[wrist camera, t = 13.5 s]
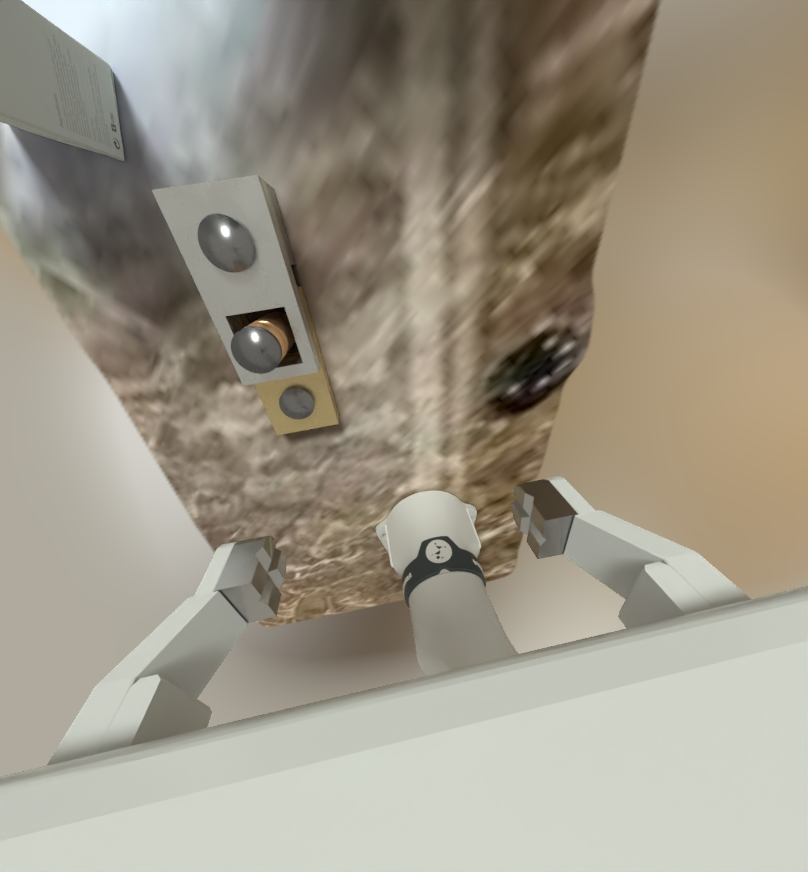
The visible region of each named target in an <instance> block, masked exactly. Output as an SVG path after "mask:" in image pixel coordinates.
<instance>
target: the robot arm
mask: <svg viewBox="0 0 808 872" xmlns="http://www.w3.org/2000/svg"><path fill="white" fill-rule="evenodd" d="M514 495H515V497H516V498H517V499H516V500H515V501H514V502H513V504H512V512H513V517H514V520H515V522H516V524H517V526H518V528H519V530H520V531H522V532H524V533H525V534H527V535H528V537H527V543H528V544H529V546H530V548H531V549H532V551H533V552H534V554H535V555H536V557H537V559H540V558H545V557H551V556H556V555H561V554H564V556H565V557H566V558H568V559H569V560H570V561H572V562H573V563H575V564H576V565H578V566H579V567H580V568H582V569H583V570H585V571H586V572H588V573H589V574H590V575H592V576H593V577H595V578H596V579H598V580H599V581H600V582H602V583H603V584H605V585H606V586H608V587H609V588H610V589H612V590H613V591H615V592H616V593H618V594H619V595H620V596H622V597H623V598H625V599H626V600H625V602H624V604H623V606H622V608H621V609H620V611H619V616H618V617H619V618H620V620H621V621H622V623H623V624H624V625H625V627H626V628H627V629H623V630H619V631H615V632H611V633H606V634H602V635H598V636H594V637H589V638H585V639H581V640H577V641H573V642H568V643H564V644H560V645H556V646H551V647H547V648H543V649H539V650H534V651H530V652H526V653H522V654H518V652H517V651H516V650H515V648H514V647H513V646H512V644H511V642H510V641H509V639H508V637H507V635H506V633H505V632H504V629H503V627H502V625H501V623H500V621H499V619H498V617H497V614H496V612H495V610H494V608H493V605H492V603H491V601H490V598H489V596H488V594H487V591H486V589H485V587H486V581H485V578H484V575H483V574H484V573H483V570H482V568H481V566H480V564H479V562H478V560H477V556H478V554H479V552H480V548H481V544H480V541H479V538H478V535H477V533H476V530H475V527H474V522H475V519H476V515H477V511H476V508H475V507H474V506H472V505H470V504H466V503H463V502H461V501H460V500H459V499H458V498H457V497H455V496H454V495H452V494H450V493H447V492H443V491H424V492H419V493H416V494H413V495H411V496H409V497H407V498H405V499H403V500H402V501H400V502H399V503H398V504H397V505H396V506H395V507H394V508H393V509H392V511H391V512H390V514H389V515H388V517H387V518H386V519H385V520H384V521H382V522H381V523H380V524H378V525H377V526H376V534H377V536H378V537H379V539H380V541H381V542H382V544H383V545H384V547H385V549H386V550H387V552H388V553H389V557H390V564H391V567H393V568H394V569H395V571H396V572H397V574H398V575H399V576H400V577H401V578H402V583H403V593H404V597H405V600H406V604H407V606H408V607H409V608H410V614H411V620H412V627H413V633H414V639H415V646H416V653H417V659H418V662H419V664H420V667H421V669H422V670H423V672H424V673H425V674H426V675H427V676H424V677H420V678H416V679H412V680H407V681H403V682H399V683H394V684H390V685H386V686H382V687H378V688H373V689H369V690H365V691H361V692H356V693H352V694H348V695H344V696H340V697H335V698H331V699H327V700H323V701H318V702H314V703H310V704H306V705H301V706H297V707H293V708H289V709H284V710H280V711H276V712H272V713H268V714H263V715H259V716H255V717H251V718H246V719H242V720H238V721H234V722H229V723H225V724H221V725H217V726H213V727H208V728H207V726H208V723H209V720H210V716H211V713H212V711H211V709H210V707H208V706H207V705H205V704H204V703H202V702H201V701H199V700H198V699H197V698H198V696H199V695H200V694H201V692H202V691H203V689H204V688H205V686H206V685H207V684H208V682H209V681H210V679H211V678H212V676H213V675H214V673H215V672H216V670H217V669H218V668H219V666H220V665H221V663H222V662H223V661H224V659H225V658H226V656H227V655H228V653H229V652H230V650H231V649H232V648H233V646H234V645H235V643H236V642H237V640H238V639H239V638H240V636H241V635H242V633H243V632H244V630H245V629H246V627H247V626H248V623H251V622H255V621H259V620H263V619H267V618H271V617H275V616H276V615H277V611H278V606H279V602H280V597H281V593H280V591H279V590H278V588H279V586H280V585H281V584H282V583H283V581H284V579H285V574H286V561H285V557H284V555H283V553H282V551H280V550H278V549H276V548H275V546H276V541H275V540H274V538H273V537H272V536H265V537H260V538H254V539H249V540H243V541H238V542H233V543H228V544H222V545H221V546H220V547H219V548H217V550H216V552H215V554H214V556H213V558H212V560H211V562H210V564H209V567H208V569H207V571H206V573H205V575H204V577H203V579H202V581H201V583H200V585H199V587H198V589H197V591H196V593H195V595H194V596H192V597H189V598H188V599H187V600H186V601H184V602H183V603H182V604H181V605H180V606H179V607H178V608H177V609H176V610H175V611H174V612H173V613H172V614H171V615H170V616H169V617H168V618H167V619H165V620H164V621H163V622H162V623H161V624H160V625H159V626H158V627H157V628H156V629H155V630H154V631H153V632H152V633H151V634H150V635H149V636H148V637H147V638H146V639H145V640H143V641H142V642H141V643H140V644H139V645H138V646H137V647H136V648H135V649H134V650H133V651H132V652H131V653H130V654H129V655H128V656H127V657H126V658H125V659H123V660H122V661H121V662H120V663H119V664H118V666H116V667H115V668H114V669H113V670H112V671H111V672H110V673H109V674H108V675H107V676H106V677H105V678H103V679H102V680H101V681H100V682H99V683H98V685H96V686H95V688H94V689H93V691H92V693H91V694H90V696H89V697H88V699H87V701H86V702H85V704H84V706H83V707H82V709H81V710H80V712H79V714H78V715H77V717H76V718H75V720H74V722H73V724H72V725H71V727H70V728H69V730H68V732H67V733H66V735H65V736H64V738H63V740H62V741H61V743H60V745H59V746H58V748H57V749H56V751H55V753H54V754H53V756H52V758H51V759H50V761H49V763H48V765H47V766H43V767H40V768H35V769H31V770H27V771H22V772H18V773H14V774H10V775H5V776H1V777H0V872H808V586H806V587H801V588H797V589H793V590H789V591H784V592H780V593H776V594H772V595H767V596H764V597H759V598H755V599H751V598H749V597H748V596H747V595H746V594H745V593H744V592H742V591H741V590H740V589H739V588H738V587H737V586H735V585H734V584H733V583H732V582H731V581H730V580H728V579H727V578H726V577H725V576H724V575H722V574H721V573H720V572H719V571H718V570H717V569H716V568H714V567H713V566H712V565H711V564H710V563H709V562H707V561H706V560H705V559H704V558H703V557H702V556H700V555H699V554H698V553H697V552H695V551H693V550H690V549H688V548H686V547H683V546H681V545H679V544H677V543H674V542H672V541H670V540H667V539H665V538H663V537H661V536H658V535H656V534H653V533H651V532H649V531H647V530H644V529H642V528H640V527H638V526H635V525H633V524H631V523H629V522H626V521H624V520H622V519H619V518H617V517H615V516H612V515H610V514H608V513H605V512H603V511H601V510H599V511H595V510H594V509H593V508H592V507H591V506H590V505H589V504H588V503H587V501H586V500H585V499H584V498H583V497H582V496H581V495H580V494H579V493H577V491H576V490H575V489H574V488H573V487H572V486H571V485H570V484H569V483H568V482H567V481H566V480H565V479H564V478H563V477H561V476H558V477H553V478H548V479H544V480H538V481H533V482H529V483H524V484H519V485H516V486H515V488H514Z"/></svg>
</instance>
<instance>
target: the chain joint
mask: <svg viewBox="0 0 808 872" xmlns="http://www.w3.org/2000/svg"><path fill="white" fill-rule="evenodd" d="M152 192H153V194H154V196H155V199H156V201H157V203H158V205H159V207H160V209H161V211H162V213H163V216H164V218H165V220H166V222H167V224H168V226H169V228H170V231H171V233H172V235H173V237H174V239H175V241H176V243H177V245H178V248H179V250H180V252H181V254H182V256H183V258H184V260H185V263H186V265H187V267H188V269H189V271H190V273H191V275H192V277H193V280H194V282H195V284H196V286H197V288H198V290H199V292H200V295H201V297H202V299H203V301H204V303H205V305H206V307H207V309H208V312H209V314H210V316H211V318H212V320H213V322H214V324H215V327H216V329H217V331H218V333H219V335H220V337H221V339H222V341H223V344H224V346H225V348H226V350H227V352H228V354H229V356H230V359H231V361H232V363H233V365H234V367H235V369H236V371H237V373H238V376H239V378H240V380H241V382H242V384H243V386H244V385H250V384H255V387H256V389H257V391H258V393H259V396H260V398H261V400H262V402H263V405H264V407H265V409H266V411H267V414H268V416H269V418H270V420H271V423H272V425H273V427H274V429H275V432H276V434H277V435H282V434H287V433H293V432H298V431H303V430H309V429H314V428H319V427H325V426H330V425H336V424H339V412H338V409H337V405H336V402H335V398H334V395H333V391H332V388H331V385H330V381H329V378H328V374H327V371H326V367H325V364H324V360H323V357H322V354H321V350H320V347H319V343H318V340H317V336H316V333H315V329H314V326H313V323H312V319H311V316H310V312H309V309H308V305H307V302H306V298H305V295H304V291H303V288H302V286H297V284H296V281H295V278H294V274H293V271H292V268H291V265H294V264H295V260H294V257H293V254H292V250H291V247H290V243H289V240H288V236H287V233H286V229H285V226H284V223H283V219H282V216H281V212H280V209H279V205H278V202H277V198H276V195H275V192H274V189H273V188H272V187H271V186H270V185H269V184H267V183H266V182H265V181H264V180H263V179H262V178H261V177H259V176H258V175H254V176H247V177H240V178H232V179H225V180H218V181H211V182H204V183H196V184H189V185H182V186H175V187H168V188H161V189H153V190H152ZM279 307H285V310H286V313H287V316H288V319H289V322H290V325H291V328H292V332H293V335H294V338H295V341H296V344H297V347H298V350H299V352H296V353H291V354H286V355H285V356H284V358H283V359H282V360H281V362H280V363H279V364H278V366H277V367H276V368H275V369H274V370H272V371H271V372H268V373H264V374H258V373H253V372H250V371H248V370H246V369H244V368H243V367H242V366H240V365H239V364H238V363H237V361H236V360H235V358H234V357H233V354H232V351H231V340H232V338H233V336H234V335H235V334H236V333H237V332H238V331H239V330H241V329H243V328H244V327H246V326H248V325H249V324H250V323H249V321H248V318H247V316H246V314H245V313H249V312H255V311H261V310H267V309H273V308H279Z"/></svg>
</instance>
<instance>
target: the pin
mask: <svg viewBox="0 0 808 872" xmlns="http://www.w3.org/2000/svg"><path fill="white" fill-rule="evenodd" d="M294 343H295V338H294V335H293V332H292V328H291V325H290V322H289V319H288V316H287V315H286V314H284V313H282V312H270V313H268V314H266V315H264V316H263V317H261V318H259V319H258V320H256V321H254V322H253V323H251V324H249V325H248V326H246V327H244V328H243V329H241V330H239V331H238V332H237V333H236V334H235V335H234V336H233V338H232V340H231V351H232V354H233V357H234V358H235V360H236V361H237V363H238V364H239V365H240V366H242V367H243V368H244V369H246V370H248V371H250V372H253V373H258V374H264V373H268V372H271V371H272V370H274V369H275V368H276V367H277V366H278V364H279V363H280V362H281V360H282V359H283V358H284V356H285V355H286V353H287V352H288V351H289V349H290V348H291V347H292V345H293V344H294Z"/></svg>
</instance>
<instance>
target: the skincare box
mask: <svg viewBox="0 0 808 872" xmlns="http://www.w3.org/2000/svg"><path fill="white" fill-rule="evenodd" d="M0 122H3V123H5V124H8V125H11V126H14V127H16V128H19V129H22V130H25V131H28V132H31V133H34V134H37V135H40V136H43V137H46V138H50V139H53V140H56V141H59V142H63V143H66V144H69V145H73V146H76V147H79V148H83V149H86V150H89V151H93V152H97V153H101V154H104V155H107V156H110V157H112V158H115V159H117V160H120V161H124V160H125V159H124V151H123V144H122V139H121V132H120V124H119V117H118V108H117V100H116V93H115V86H114V79H113V73H112V69H111V68H110V66H109V65H108V63H107V62H105V61H104V60H102V59H101V58H100V57H98V56H97V55H95V54H94V53H93V52H91V51H90V50H89V49H87V48H86V47H84V46H83V45H82V44H80V43H79V42H77V41H76V40H75V39H73V38H72V37H71V36H69V35H68V34H66V33H65V32H63V31H62V30H61V29H60V28H58V27H57V26H55V25H54V24H52V23H51V22H50V21H48V20H47V19H46V18H44V17H43V16H42V15H40V14H39V13H38V12H36V11H35V10H34V9H32V8H31V7H29V6H28V5H27V4H25V3H24V2H23V1H21V0H0Z"/></svg>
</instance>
